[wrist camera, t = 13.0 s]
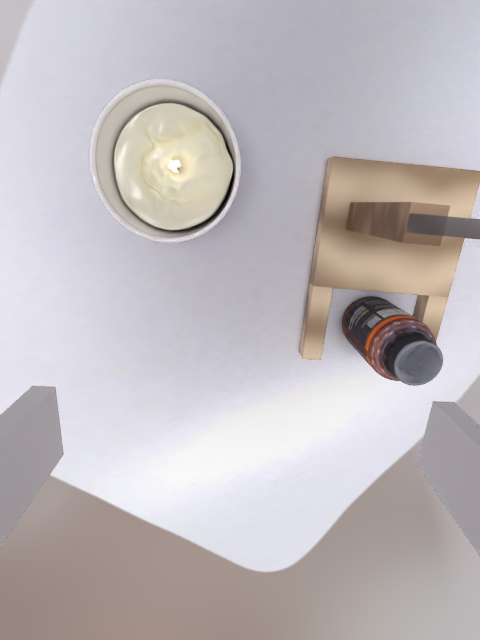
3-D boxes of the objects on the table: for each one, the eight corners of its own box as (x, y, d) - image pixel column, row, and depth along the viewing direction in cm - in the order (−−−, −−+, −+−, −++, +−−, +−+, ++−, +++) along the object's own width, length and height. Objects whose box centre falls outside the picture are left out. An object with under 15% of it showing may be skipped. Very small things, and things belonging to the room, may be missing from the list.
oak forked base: (327, 159, 34) (333, 156, 32) (469, 173, 35) (482, 171, 33) (299, 351, 40) (302, 358, 38) (419, 360, 41) (428, 367, 39)
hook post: (350, 202, 33) (411, 201, 22) (417, 208, 34) (511, 211, 22) (345, 229, 34) (402, 242, 23) (411, 235, 35) (499, 251, 23)
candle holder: (215, 103, 32) (206, 49, 21) (252, 208, 35) (262, 211, 24) (118, 145, 33) (59, 115, 22) (162, 244, 36) (130, 263, 25)
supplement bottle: (382, 351, 41) (436, 405, 30) (333, 339, 40) (370, 389, 29) (403, 302, 39) (468, 340, 28) (352, 288, 38) (398, 322, 27)
